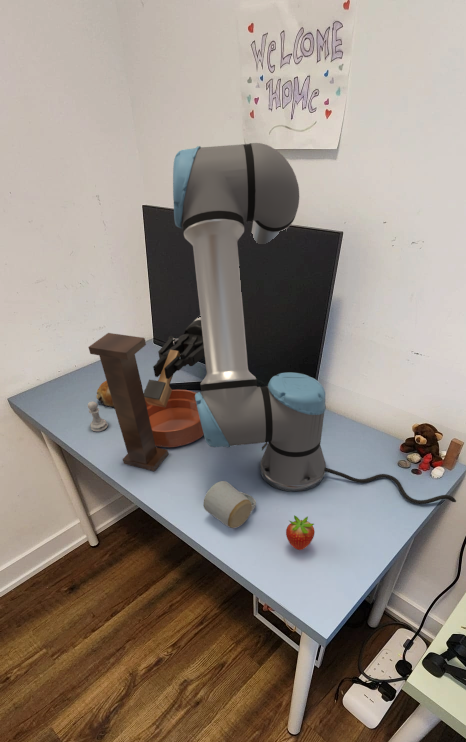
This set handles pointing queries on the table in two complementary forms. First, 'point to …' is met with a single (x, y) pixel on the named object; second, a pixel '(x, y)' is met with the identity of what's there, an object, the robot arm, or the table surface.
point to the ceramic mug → (228, 504)
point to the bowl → (176, 420)
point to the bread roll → (104, 394)
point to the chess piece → (96, 418)
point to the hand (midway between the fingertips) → (161, 372)
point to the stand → (129, 398)
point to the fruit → (300, 533)
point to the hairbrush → (160, 385)
